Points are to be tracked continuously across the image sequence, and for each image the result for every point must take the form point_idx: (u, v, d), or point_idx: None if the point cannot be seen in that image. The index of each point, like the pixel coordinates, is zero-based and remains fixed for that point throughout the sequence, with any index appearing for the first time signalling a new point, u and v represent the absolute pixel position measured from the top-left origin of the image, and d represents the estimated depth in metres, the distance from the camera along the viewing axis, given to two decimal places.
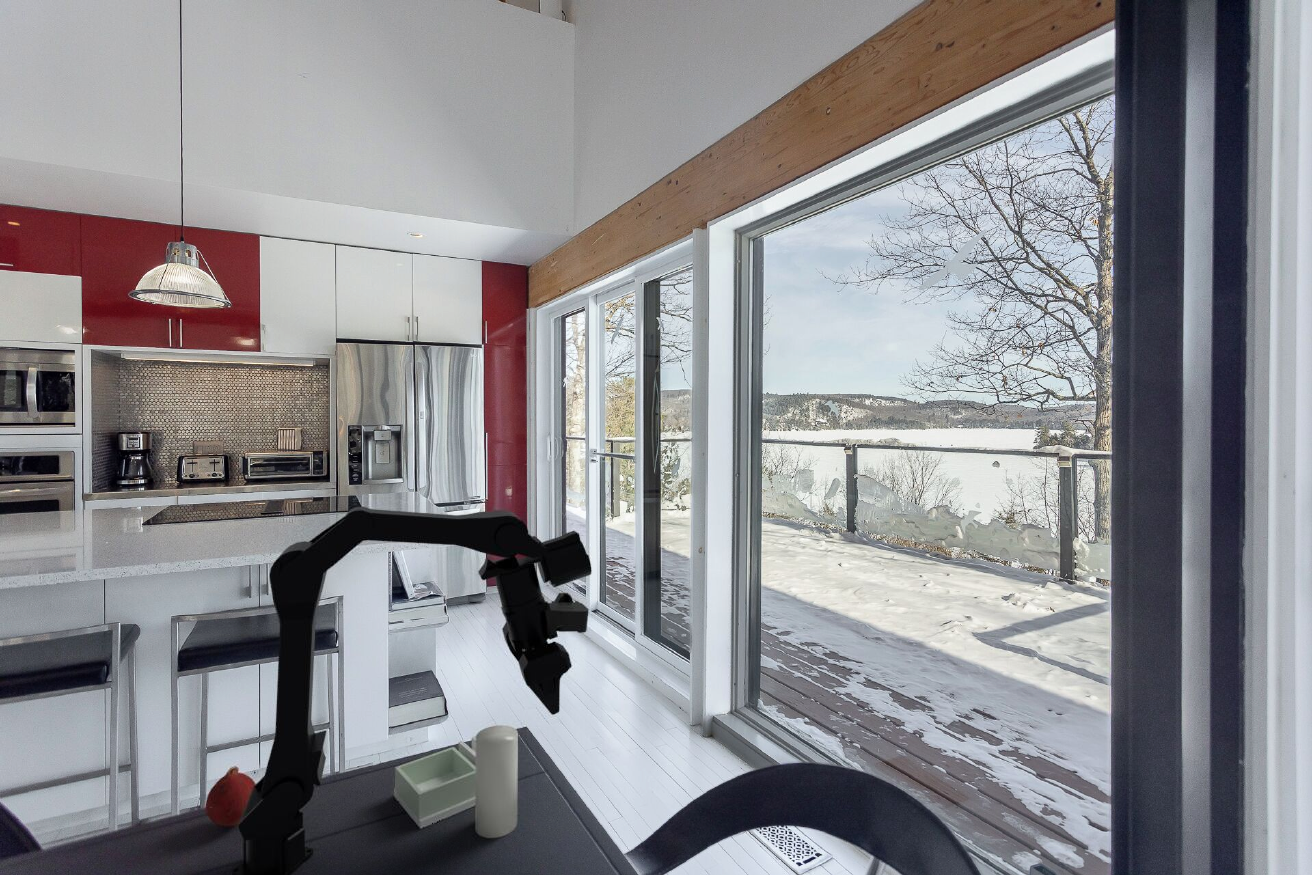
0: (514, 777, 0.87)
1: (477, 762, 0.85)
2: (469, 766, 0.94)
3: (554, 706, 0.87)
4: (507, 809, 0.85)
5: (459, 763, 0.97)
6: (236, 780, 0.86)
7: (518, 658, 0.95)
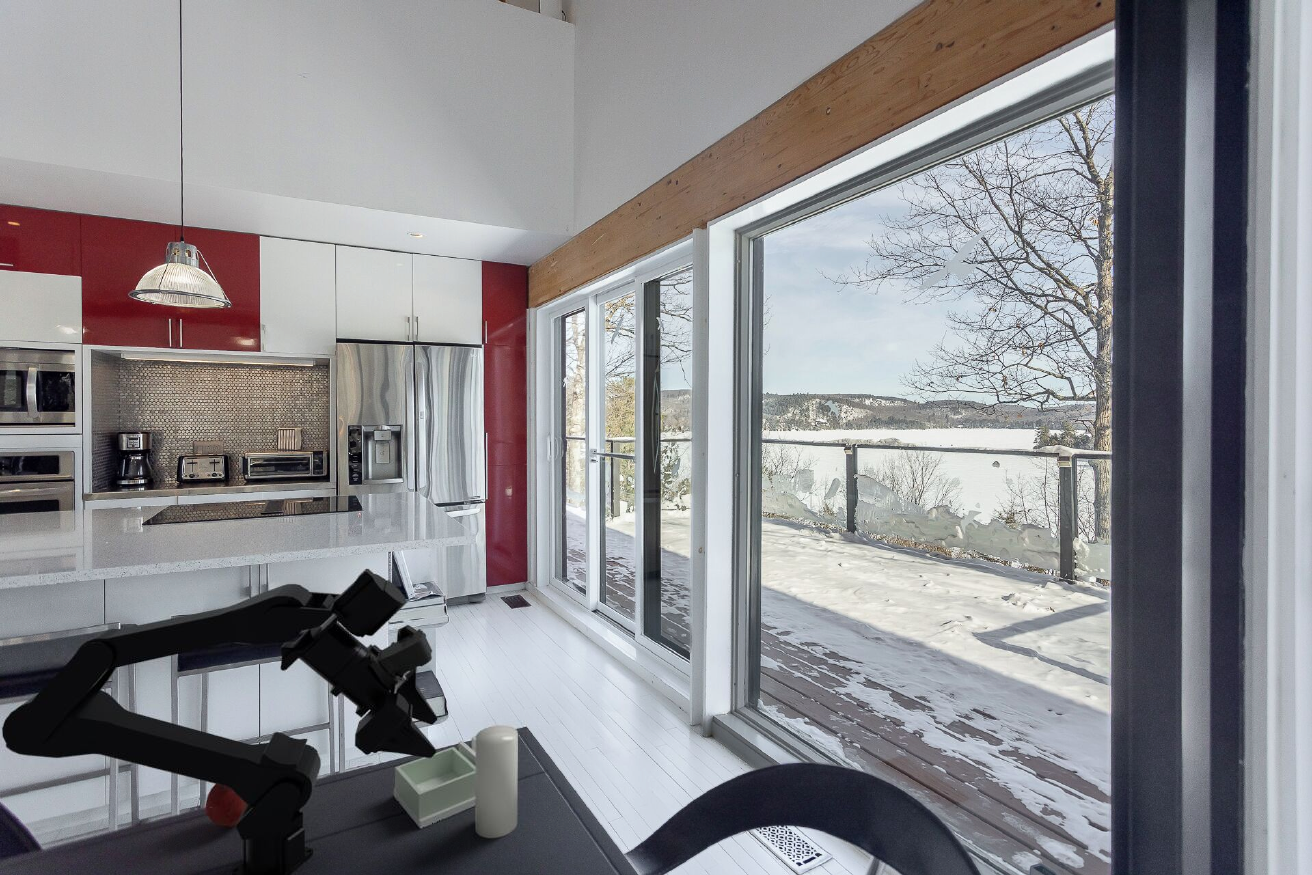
0: (514, 777, 0.87)
1: (477, 762, 0.85)
2: (469, 766, 0.94)
3: (426, 750, 0.79)
4: (507, 809, 0.85)
5: (459, 763, 0.97)
6: None
7: None
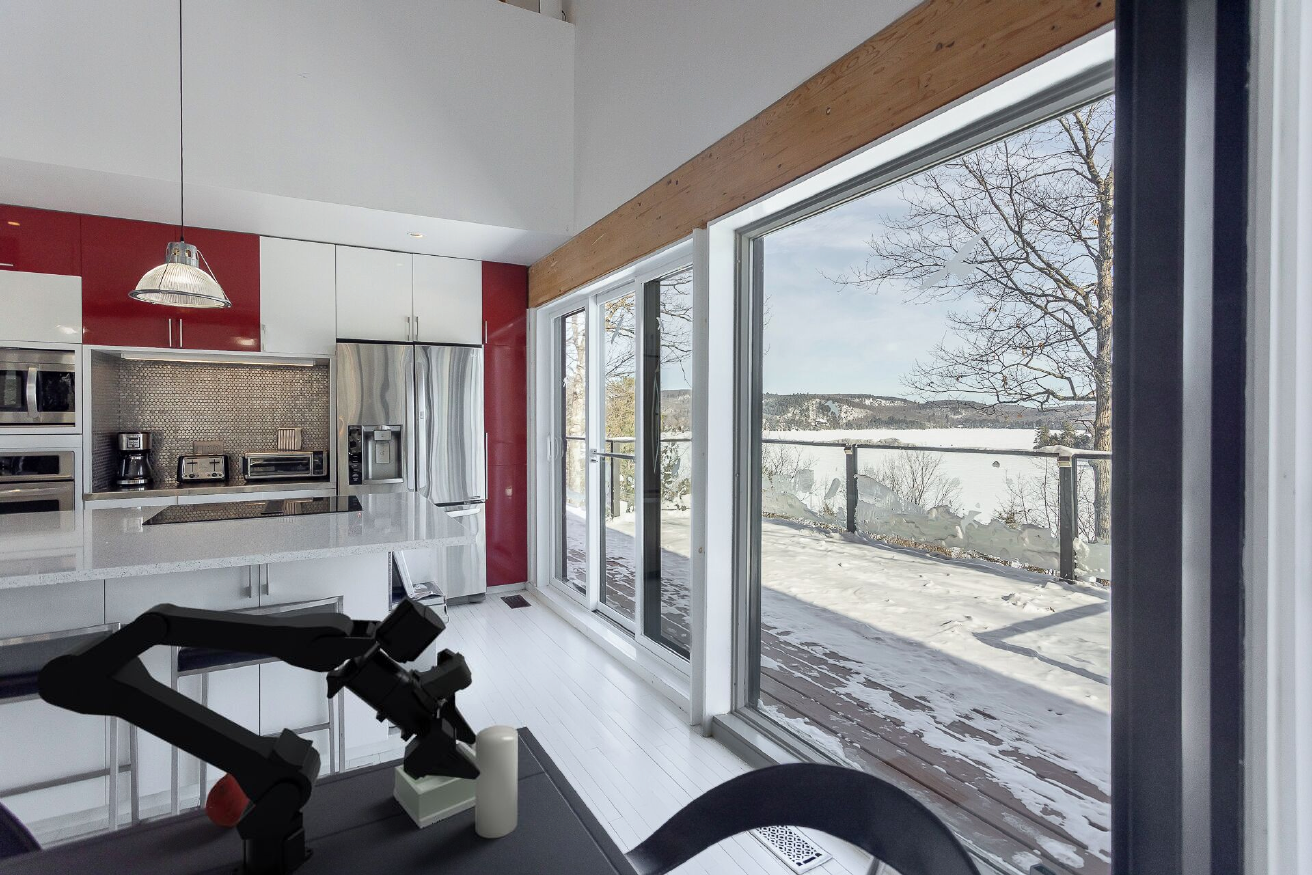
0: (514, 777, 0.86)
1: (477, 762, 0.85)
2: None
3: (471, 772, 0.81)
4: (507, 809, 0.85)
5: None
6: None
7: None
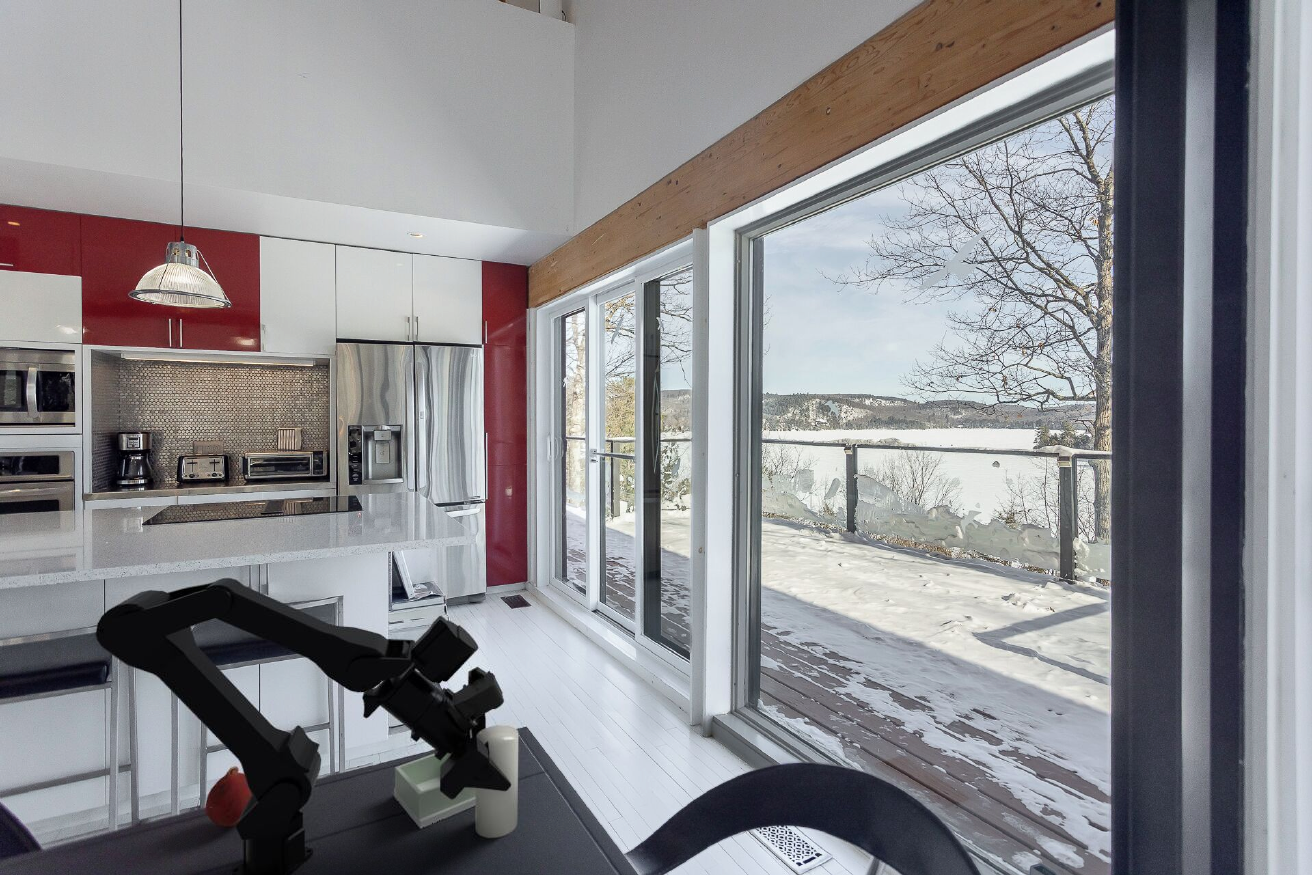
0: (515, 777, 0.87)
1: None
2: None
3: (502, 784, 0.84)
4: (507, 809, 0.85)
5: None
6: (236, 780, 0.86)
7: None
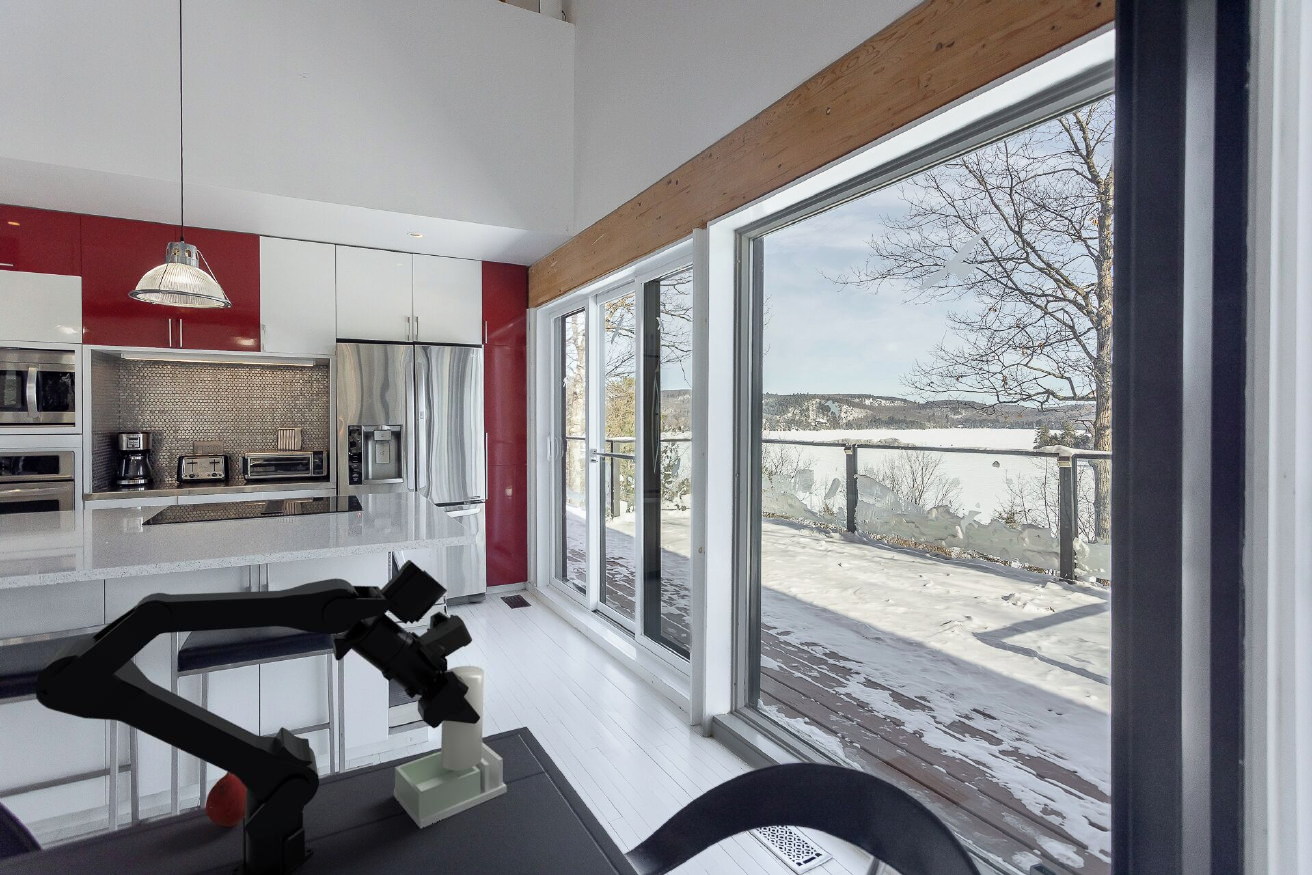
0: (481, 711, 0.91)
1: None
2: None
3: (472, 717, 0.88)
4: (475, 741, 0.90)
5: None
6: (236, 780, 0.86)
7: None
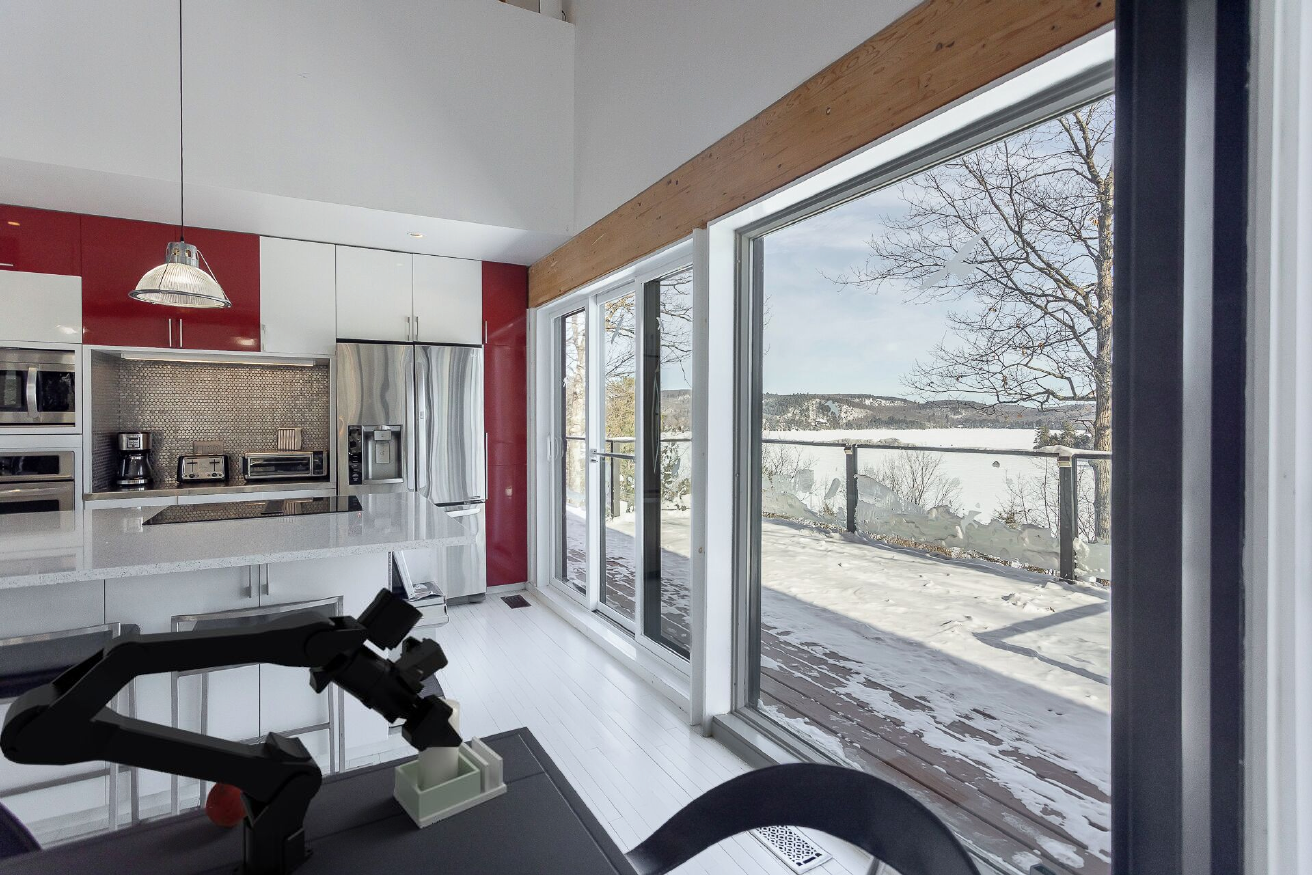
0: None
1: None
2: (469, 766, 0.94)
3: (456, 740, 0.89)
4: (453, 772, 0.92)
5: (459, 763, 0.97)
6: None
7: None
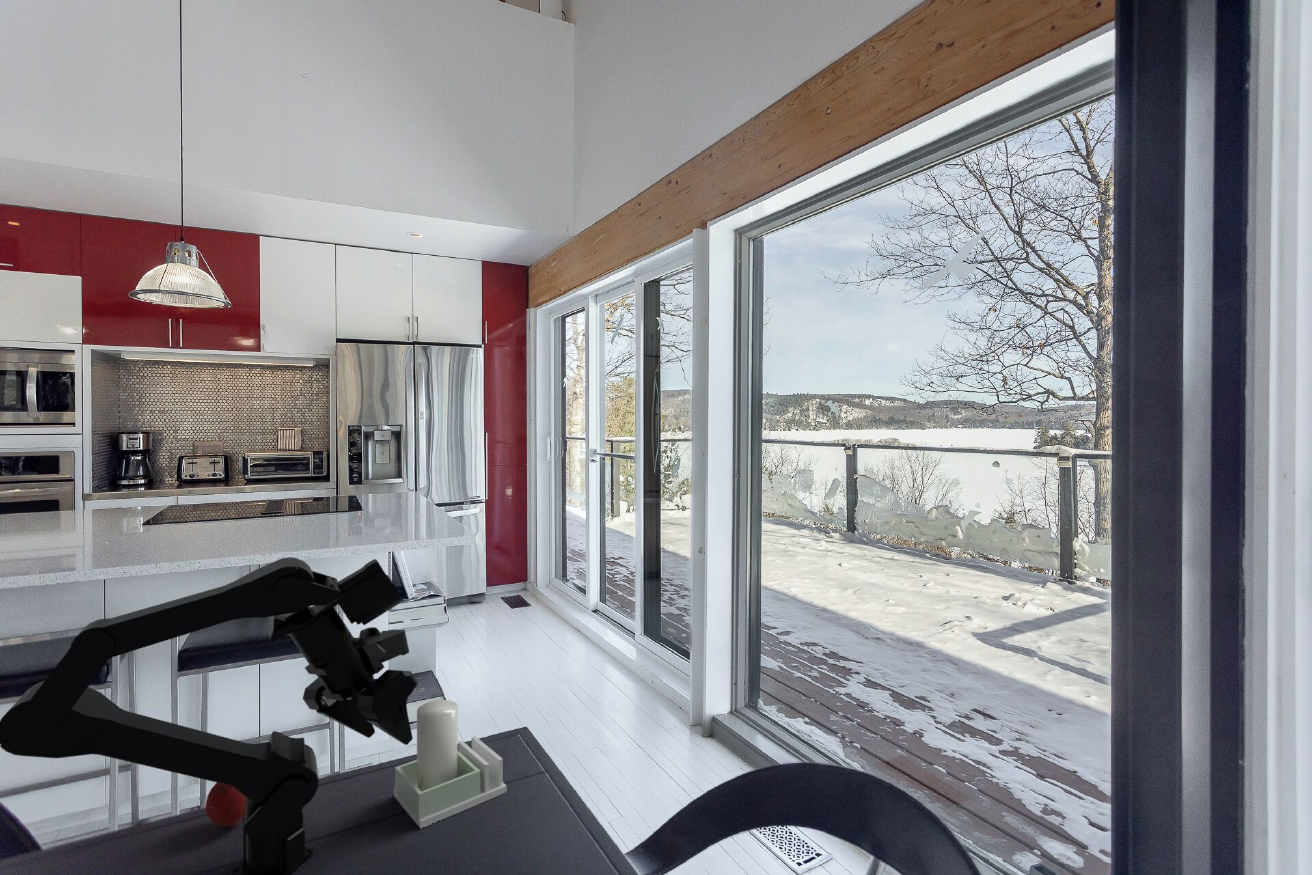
0: (456, 743, 0.93)
1: (422, 736, 0.90)
2: (469, 766, 0.94)
3: (407, 734, 0.82)
4: (452, 773, 0.92)
5: (459, 763, 0.97)
6: None
7: (337, 717, 0.85)
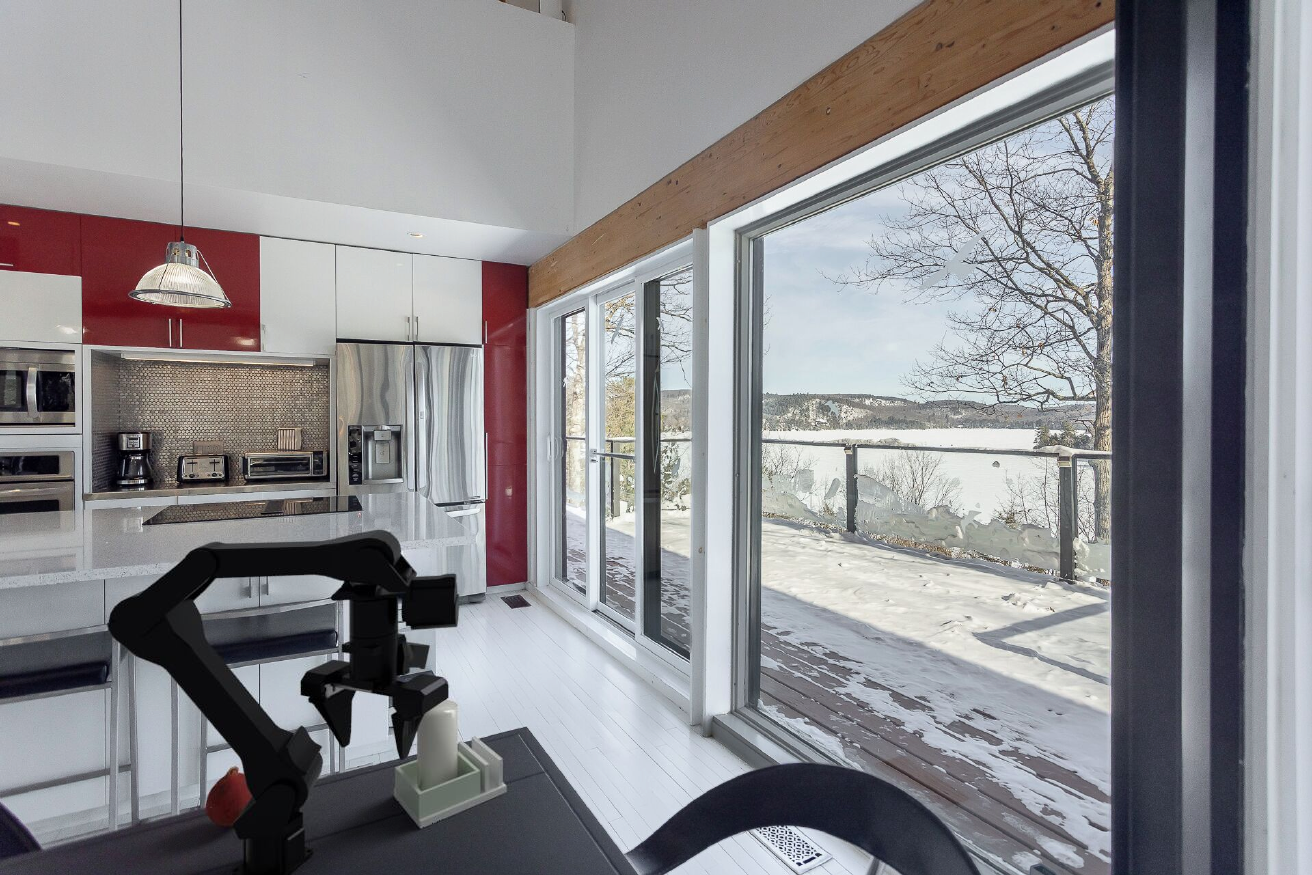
0: (457, 744, 0.93)
1: (422, 736, 0.90)
2: (469, 766, 0.94)
3: (407, 749, 0.80)
4: (452, 773, 0.92)
5: (459, 763, 0.97)
6: (236, 780, 0.86)
7: (330, 711, 0.81)
